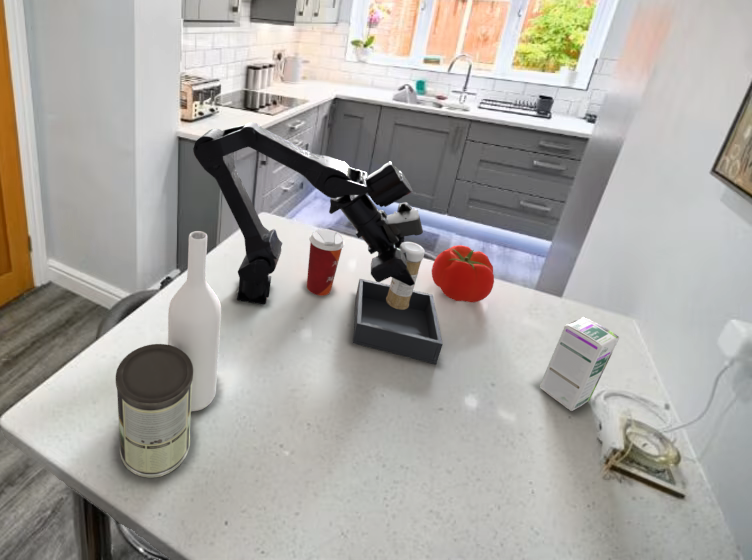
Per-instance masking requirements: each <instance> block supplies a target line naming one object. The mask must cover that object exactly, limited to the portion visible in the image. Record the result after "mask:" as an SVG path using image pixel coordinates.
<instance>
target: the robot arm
mask: <svg viewBox="0 0 752 560" xmlns="http://www.w3.org/2000/svg"><path fill="white" fill-rule="evenodd" d="M246 148H250V149H252V150H254V151H256V152H258V153H259V154H262V155H263V156H265V157H268V158H269V159H272V160H273V161H275V162H277V163H279V164H281V165H283V166H285V167H286V168H288V169H290V170H292V171H294V172H296V173H298V174H300V175H301V176H302V177H304V178H305V179H306V180H307V181H308V182H309V184H310V185H311V186H312V187H313V188H315V189H316V190H318V192H320V193H321V194H323V195H324V196H325V197H327V198H330V200H329V204H330V206H329V210H328V213H329V214H330V215H333V214H334V213H336V212H338V211H339V210H340V211H341V212H342V214H343V215H344V217H346V218H347V220H348V221H349V223H350V224H351V225H352V227H353V228H354V229H355V236H356V237H357V238H358V239H359V238H361V239H362V240H363V241H364V242H365V244H366V245H367V251H368V253H369V254H370V255H373V254H375V253H377V256H375V257H372V258H371V263H370V276H371V277H372V278H373V279H374V282H378V283H382V282H383V281H385V280H387V279H390V278H391V279H392V278H394V279H396V280H399V281H401V282H403V283H405V284H407V285H409V286H412V285H414V284H415V285H416V282H414V280H413V278H412V276H411V274H410V272H409V270H408V268H407V255H406V252H405V253H402V251H401V250H399V247H400V244H401V243H403V242H405V237H410V236H421V235H422V234H423V233H424V230H423V225H422V221H421V217H420V213H419V210H418V209H416V207H412V206H411V205H410V203H408V202H406V201H404V202H399V203H398V206H397V210H396V211H393V213H391V214H388V213H386V211H385V210H383V209H378V207H377V206H379V207H380V208H383V207H384V208H387V207H389V206H390V205H393V204H394V203H395V202H398V201H399V200H401V199H403V198H405V197H406V196H408V195H410V194H412V193H414V189H413V187H412V185H411V183H410V181H409V180H408V179H407V177H406V176H405V174H404V173H403V172H402V171H401V170H400V169H399V168H398V167H397V166H395V165H394V163H393V162H392V161H388V162H386V163H385V164H383V165H382V166H381V167H380V168H379V169H377V170H375V171H374V172H372V173H370V174H368V172H366V171H363V170H360V169H357V168H353V167H350V165H349V164H348V163H347V162H345V161H344V160H340V159H337V158H335V157H331V156H328V155H322V154H316V153H312V152H311V151H308V150H306V149H304V148H303V147H300V146H299V145H296V144H295V143H293V142H291V141H289V140H287V139H286V138H283V137H281V136H279V135H277V134H276V133H273V132H272V131H269V130H268V129H266V128H265V127H262V126H261V125H260V124H258V123H257V122H253V121H251V122H250V121H249V122H248V123H246V124H243V125H238V126H232V127H229V128H226V129H221V128H212V129H209V130H208V131H207V132H205V133H204V134H202V135H201V136H200V137H199V138H197V140H196V141H195V142H194V146H193V147H192V152H193V155H194V157H195V159H196V160H197V162H198V163H199V164H200V166H201V167H202V169H203V170H204V171H205V172H206V173H208V174H209V175H210V176H211V177H212V178H214V180H215V181H216V183H217V185H218V187H219V189H220V191H221V193H222V196H223V197H224V199H225V201H226V203H227V205H228V207H229V209H230V212H231V214H232V216H233V218H234V221H235V222H236V224H237V226H238V228H239V230H240V232H241V234H242V237H243V239H244V247H245V256H244V258H243V260H242V262H241V264H240V266H239V268H238V270H237V275H238V278H239V279H238V289H237V294H236V301H238V302H242V303H243V302H244V303H251V304H256V305H267V300H268V298H270V291H271V283H272V275H271V274H273V273H274V272H275V270H276V269H277V265H278V262H279V260H280V257H281V254H282V245H283V242H282V241H281V239H280V238H279V236H278V233H277V231H276V229H275V228H273V229H271V230H269V229H267V228H266V227H265V226H264V225H263V223H262V221H261V219H260V216H259V215H258V212H257V210H256V208H255V206H254V204H253V202H252V200H251V198H250V196H249V193H248V192H247V189H246V188H245V185H244V183H243V180H242V178H241V177H240V175H239V173H238V170H237V168H236V162H235V152H238V151H240V150H242V149H243V150H244V149H246ZM415 285H414V286H415Z"/></svg>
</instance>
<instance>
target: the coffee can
mask: <svg viewBox="0 0 752 560" xmlns="http://www.w3.org/2000/svg"><path fill="white" fill-rule="evenodd" d="M192 380H193V365H192V362H191V360H190V358H189V357H188V356H187V355H186V354H185V353H184V352H183V351H182V350H180V349H178V348H176V347H174V346H171V345H168V344H166V343H153V344H147V345H144V346H140V347H138V348H136V349H134V350H132V351H131V352H130V353H127V355H126V356H125V357H124V358H122V360H121V362H120V363H119V365H118V366H117V369H116V372H115V387H116V395H117V414H118V416H117V417H118V436H119V454H120V459H121V461H122V463H123V465H124V466H125V468H126V469H127V470H128V471H130V472H131V473H133V474H134V475H136V476H139V477H142V478H147V479H153V478H160V477H163V476H166V475H168V474H170V473H172V472H173V471H175V470H176V469H177V468H179V467H180V465H181V464H182V463H183V462H184V460H185V459H186V457H187V455H188V454H189V450H190V446H191V415H192V414H191V413H192V411H191V391H192Z"/></svg>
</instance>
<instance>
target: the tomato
mask: <svg viewBox="0 0 752 560" xmlns="http://www.w3.org/2000/svg"><path fill="white" fill-rule="evenodd" d="M474 250H475V249H472V248H471V247H469V246H466V245H462V244H459V245H453V246H451V247H448V248H447V249H445V250H443V251H441V252H440V253H438V254H437V256H436V257H435V259H434V261H433V264H432V267H431V278H432V281H433V283H434V284H435V285H436V286H437V287H438V288H439V289H440V290H441V292H442V294H443V295H444V296H446V297H447V298H448V299H450V300H453V301H455V302H466V303H476V302H477V303H478V302H480V301H483V300H484V299H486V298H487V297H488V296H489V295H490V294H491V292H492V290H493V289H494V283H495V274H494V266H493V264H492V263H491V261H490V259H489V256H488V255H487V254H485V253H484V252H483V251H479V250H478V251H474Z"/></svg>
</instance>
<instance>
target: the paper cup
mask: <svg viewBox="0 0 752 560" xmlns="http://www.w3.org/2000/svg"><path fill="white" fill-rule="evenodd" d="M308 240H309V242H310V244H309V254H308V266H307V276H306V289H307V290H308V291H309V292H310V293H311V294H313V295H315V296H319V297H320V296H321V297H323V296H327V295H329V294H330V293H331V291H332V288H333V284H334V280H335V277H336V273H337V269H338V265H339V261H340V257H341V254H342V250H343V248H344V246H345V241H344V238H343V236H342V234H341V233H339V232H338V231H335V230H332V229H328V228H320V229H319V228H318V229H316V230H313V232H312V233H311V234H310V236H309V239H308Z"/></svg>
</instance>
